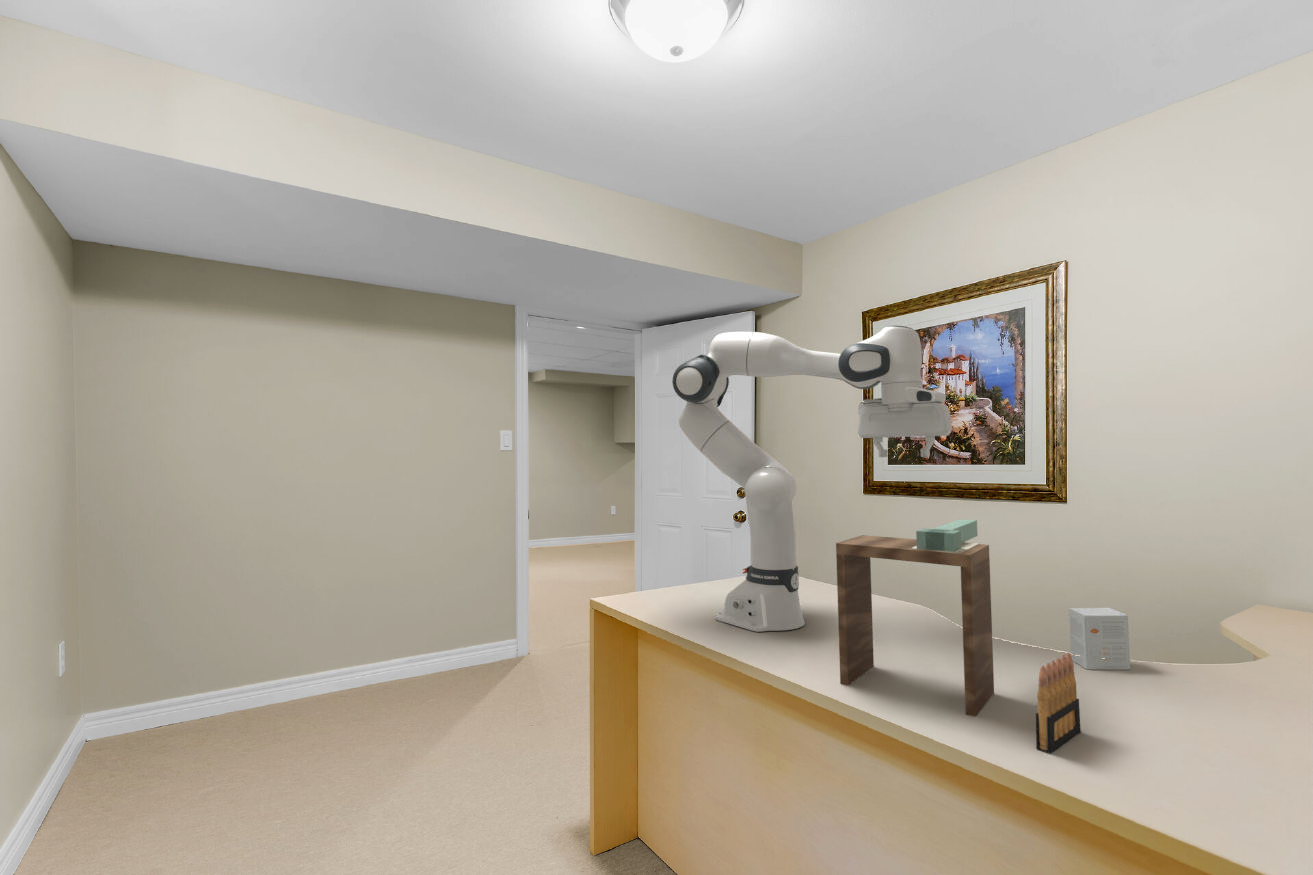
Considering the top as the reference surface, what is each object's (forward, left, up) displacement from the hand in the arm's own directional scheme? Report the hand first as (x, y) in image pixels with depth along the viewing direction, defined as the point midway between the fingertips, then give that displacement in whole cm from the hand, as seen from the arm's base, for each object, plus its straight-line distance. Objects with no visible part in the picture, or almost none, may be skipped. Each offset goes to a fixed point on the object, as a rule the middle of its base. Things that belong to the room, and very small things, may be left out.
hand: (903, 457), depth 141 cm
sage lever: (+17, -24, -15) cm, 33 cm away
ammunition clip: (+34, -36, -41) cm, 64 cm away
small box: (+35, +4, -41) cm, 54 cm away
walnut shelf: (+11, -29, -41) cm, 51 cm away
